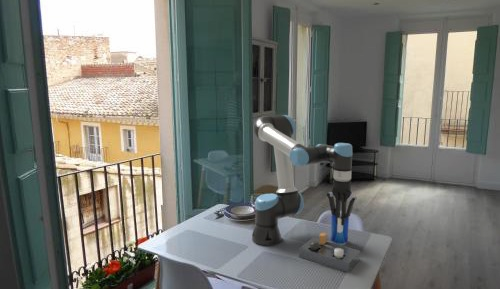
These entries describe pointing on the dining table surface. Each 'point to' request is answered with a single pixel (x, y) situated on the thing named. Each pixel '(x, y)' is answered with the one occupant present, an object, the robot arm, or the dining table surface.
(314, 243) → the black button
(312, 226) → the dining table surface
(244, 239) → the dining table surface
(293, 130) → the robot arm
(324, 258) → the panel
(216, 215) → the dining table surface
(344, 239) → the beer can
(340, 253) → the white button
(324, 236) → the toggle knob
